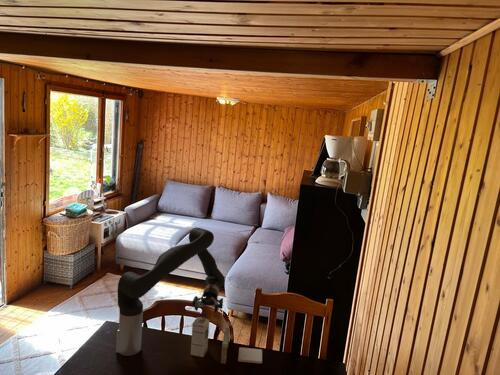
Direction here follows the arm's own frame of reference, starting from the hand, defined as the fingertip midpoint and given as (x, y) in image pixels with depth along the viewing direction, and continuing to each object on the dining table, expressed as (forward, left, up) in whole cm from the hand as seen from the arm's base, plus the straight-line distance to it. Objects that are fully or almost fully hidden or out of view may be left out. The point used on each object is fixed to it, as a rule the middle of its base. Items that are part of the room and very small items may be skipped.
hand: (205, 309), depth 162 cm
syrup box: (0, -12, -14) cm, 18 cm away
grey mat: (+22, -11, -13) cm, 28 cm away
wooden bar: (+11, -11, -6) cm, 17 cm away
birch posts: (+11, -11, -13) cm, 21 cm away
